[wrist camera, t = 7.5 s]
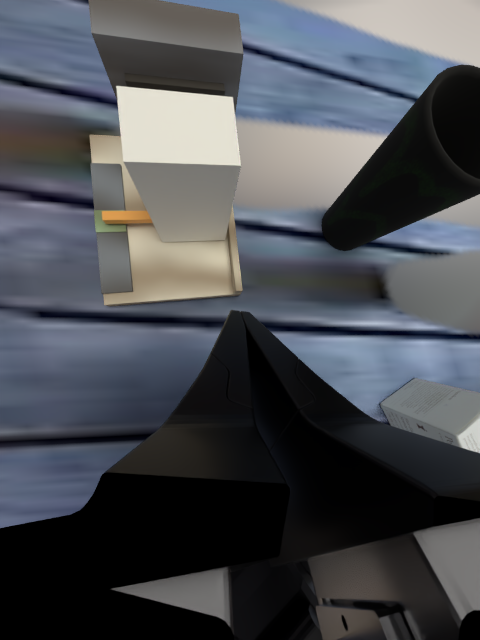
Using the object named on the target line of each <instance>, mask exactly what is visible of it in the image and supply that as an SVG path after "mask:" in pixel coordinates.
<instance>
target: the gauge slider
mask: <svg viewBox="0 0 480 640" xmlns="http://www.w3.org/2000/svg"><path fill="white" fill-rule="evenodd" d="M116 88H117V99H118V110H119V121H120V131H121V142H122V153H123V162H124V164H125V166H126V168H127V170H128V172H129V174H130V176H131V178H132V181H133V183H134V185H135V187H136V189H137V191H138V193H139V195H140V197H141V199H142V201H143V203H144V205H145V208H146V210H147V211H102V220H103V221H104V222H105V223H106V224H125V223H153V224H154V226H155V228H156V230H157V232H158V234H159V237H160V239H161V241H162V242H184V241H214V240H225V238H226V233H227V229H228V224H229V219H230V215H231V210H232V205H233V200H234V196H235V191H236V186H237V182H238V177H239V172H240V168H241V163H240V154H239V146H238V137H237V128H236V120H235V111H234V103H233V97H227V96H216V95H206V94H196V93H185V92H175V91H165V90H154V89H144V88H134V87H124V86H116Z"/></svg>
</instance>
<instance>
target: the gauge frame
mask: <svg viewBox="0 0 480 640" xmlns="http://www.w3.org/2000/svg"><path fill="white" fill-rule="evenodd" d="M89 9H90V21H91V32H92V35H93V38H94V41H95V43H96V46H97V48H98V51H99V54H100V56H101V59H102V62H103V64H104V67H105V69H106V72H107V75H108V77H109V80H110V83H111V85H112V88H113V90H114V93H115V96H116V98H117V88H116V86H124V87H134V88H144V89H154V90H165V91H175V92H185V93H196V94H206V95H216V96H227V97H233V103H234V111H235V112H236V104H237V97H238V90H239V82H240V75H241V67H242V60H243V47H242V39H241V30H240V22H239V14H235V13H229V12H223V11H217V10H212V9H206V8H200V7H194V6H189V5H183V4H177V3H171V2H166V1H160V0H89ZM117 101H118V99H117ZM90 145H91V156H92V163H91V175H92V187H93V198H94V216H95V228H96V233H97V244H98V256H99V268H100V279H101V291H102V294H103V295H104V305H106V306H120V305H132V304H144V303H156V302H168V301H180V300H192V299H203V298H215V297H227V296H239V295H240V294H241V292H242V282H241V274H240V265H239V256H238V248H237V239H236V230H235V222H234V213H233V205H232V210H231V215H230V219H229V224H228V229H227V233H226V238H225V240H214V241H184V242H162V241H161V239H160V237H159V234H158V232H157V230H156V228H155V226H154V224H153V223H125V224H106V223H105V222H104V221H103V220H102V211H147V210H146V208H145V205H144V203H143V201H142V199H141V197H140V195H139V193H138V191H137V189H136V187H135V185H134V183H133V181H132V178H131V176H130V174H129V172H128V170H127V168H126V166H125V164H124V162H123V153H122V142H121V136H105V135H90Z"/></svg>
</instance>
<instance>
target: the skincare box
mask: <svg viewBox="0 0 480 640" xmlns="http://www.w3.org/2000/svg"><path fill="white" fill-rule="evenodd" d="M380 405H381V408H382V409H383V411H384V413H385V415H386V417H387V419H388V421H389V423H390V425H391V426H393V427H396V428H400V429H403V430H406V431H409V432H413V433H416V434H419V435H422V436H425V437H429V438H432V439H435V440H438V441H442V442H445V443H448V444H451V445H455V446H458V447H461V448H464V449H467V450H471V451H474V452H478V453H480V393H478V392H474V391H469V390H465V389H461V388H456V387H452V386H447V385H443V384H439V383H434V382H430V381H426V380H421V379H417V378H414V379H413V380H411V381H410V382H408V383H407V384H406V385H404V386H403V387H402V388H400V389H399V390H398V391H396V392H395V393H393V394H392V395H391V396H389V397H388V398H387V399H385V400H384V401H383V402H381V404H380Z"/></svg>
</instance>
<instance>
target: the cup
mask: <svg viewBox="0 0 480 640" xmlns="http://www.w3.org/2000/svg"><path fill="white" fill-rule="evenodd" d="M478 194H480V68H478V67H475V66H471V65H458V66H454V67H450V68H447V69H446V70H444V71H443V72H441V73H439V74H438V75H437V76H436V78H435V79H434V80H433V81H432V83H431V84H430V85H429V86H428V87H427V89H426V90H425V91H424V92H423V94H422V95H421V96H420V97H419V99H418V100H417V101H416V102H415V103H414V105H413V106H412V107H411V108H410V110H409V111H408V112H407V113H406V115H405V116H404V117H403V118H402V119H401V121H400V122H399V123H398V124H397V126H396V127H395V128H394V129H393V131H392V132H391V133H390V134H389V135H388V137H387V138H386V139H385V140H384V142H383V143H382V144H381V145H380V147H379V148H378V149H377V150H376V151H375V153H374V154H373V155H372V156H371V158H370V159H369V160H368V161H367V163H366V164H365V165H364V166H363V167H362V169H361V170H360V171H359V172H358V174H357V175H356V176H355V177H354V179H353V180H352V181H351V182H350V184H349V185H348V186H347V187H346V188H345V190H344V191H343V192H342V193H341V195H340V196H339V197H338V198H337V200H336V201H335V202H334V203H333V204H332V206H331V207H330V208H329V209H328V211H327V212H326V213H325V214H324V217H323V219H322V231H323V235H324V237H325V239H326V240H327V242H328V243H329V244H330V245H331V246H333V247H334V248H336V249H338V250H342V251H348V250H352V249H354V248H356V247H359V246H361V245H363V244H366V243H368V242H370V241H373V240H375V239H377V238H379V237H382V236H384V235H386V234H389V233H391V232H393V231H396V230H398V229H400V228H403V227H405V226H407V225H409V224H412V223H414V222H416V221H419V220H421V219H423V218H426V217H428V216H430V215H433V214H435V213H437V212H439V211H442V210H444V209H446V208H449V207H451V206H453V205H456V204H458V203H460V202H463V201H465V200H467V199H470V198H472V197H474V196H476V195H478Z"/></svg>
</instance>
